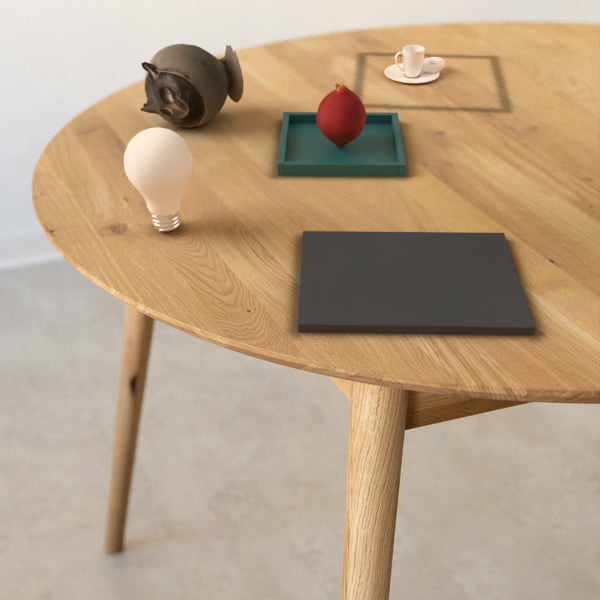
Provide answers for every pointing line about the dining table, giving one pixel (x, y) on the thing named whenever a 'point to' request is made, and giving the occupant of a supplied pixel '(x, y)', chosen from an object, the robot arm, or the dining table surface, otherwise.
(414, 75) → the teacup and saucer
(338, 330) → the mat
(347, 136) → the onion
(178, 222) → the light bulb
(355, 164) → the tray
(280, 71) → the dining table surface
